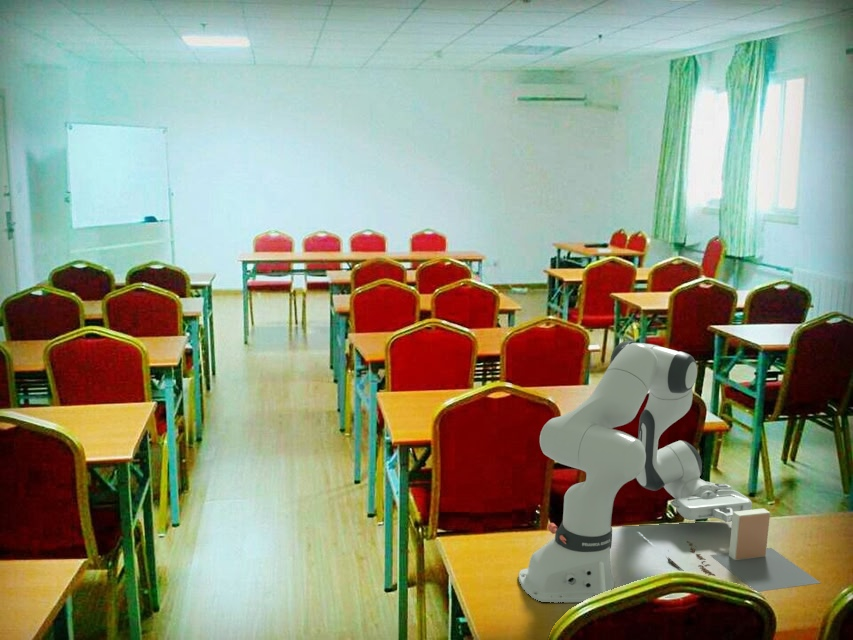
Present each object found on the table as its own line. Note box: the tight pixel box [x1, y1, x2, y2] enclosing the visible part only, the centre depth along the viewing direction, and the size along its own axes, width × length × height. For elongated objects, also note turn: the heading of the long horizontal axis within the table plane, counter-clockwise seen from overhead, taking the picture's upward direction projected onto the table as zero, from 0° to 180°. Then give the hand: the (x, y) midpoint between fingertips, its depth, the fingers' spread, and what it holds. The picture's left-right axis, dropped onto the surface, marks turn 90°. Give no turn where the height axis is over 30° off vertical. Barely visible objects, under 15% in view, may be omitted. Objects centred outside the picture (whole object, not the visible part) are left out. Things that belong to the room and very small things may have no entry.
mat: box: [710, 547, 822, 593], centre depth 193 cm, size 18×18×1 cm
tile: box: [728, 507, 771, 560], centre depth 198 cm, size 9×3×12 cm, turn 104°
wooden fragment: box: [667, 541, 716, 577], centre depth 199 cm, size 26×11×1 cm, turn 179°
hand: (731, 518), depth 205 cm, fingers closed
